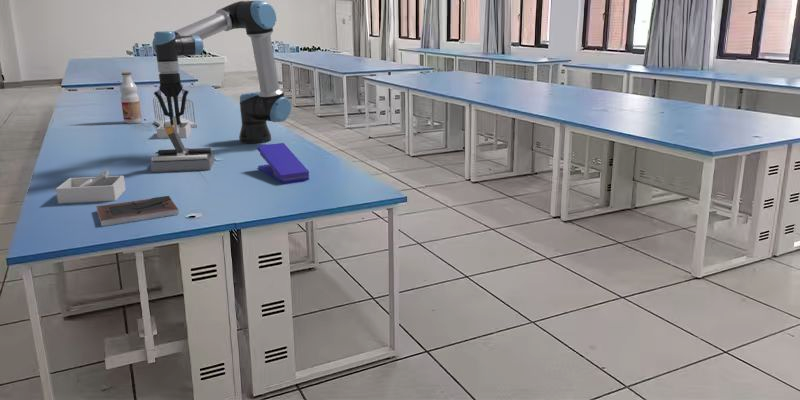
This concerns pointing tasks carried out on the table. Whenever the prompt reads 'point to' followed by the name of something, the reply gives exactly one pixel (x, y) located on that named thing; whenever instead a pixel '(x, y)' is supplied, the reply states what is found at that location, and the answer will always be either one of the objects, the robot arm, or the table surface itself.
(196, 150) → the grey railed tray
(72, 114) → the table surface
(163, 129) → the mug tray
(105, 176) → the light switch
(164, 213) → the picture frame
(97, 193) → the tray
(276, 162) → the stapler
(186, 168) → the breaker panel
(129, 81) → the fruit juice
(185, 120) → the file sorter
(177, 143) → the lever
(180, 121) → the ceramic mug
